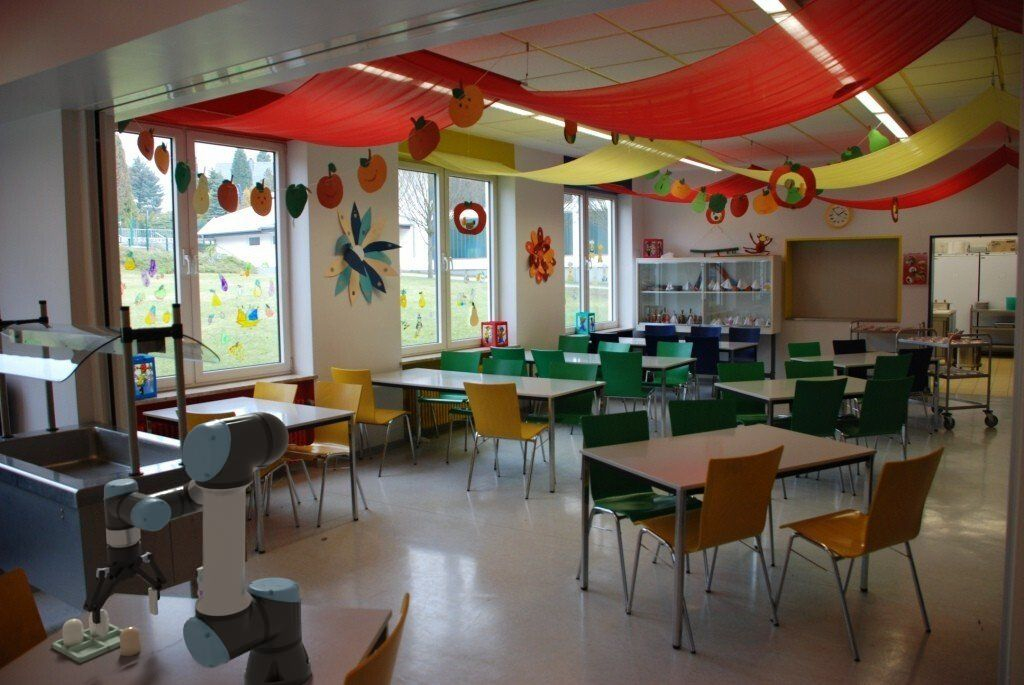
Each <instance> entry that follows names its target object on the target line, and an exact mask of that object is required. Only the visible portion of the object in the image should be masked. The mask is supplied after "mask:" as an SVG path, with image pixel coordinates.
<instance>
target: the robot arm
mask: <svg viewBox="0 0 1024 685" xmlns="http://www.w3.org/2000/svg"><path fill="white" fill-rule="evenodd" d="M289 439H290V434H289V431H288V428H287V426H286V424H285V423H284V422H283V421H282V420H281V419H280V418H279V417H278V416H276V415H274V414H272V413H269V412H265V411H264V412H262V411H257V412H250V413H247V414H242V415H236V416H231V417H225V418H220V419H216V418H215V419H211V420H209V421H207V422H203V423H200V424H197V425H196V426H195V425H194V427H192V429H191V430H190V431H189V432H188V433H187V435H186V436H185V439H184V441H183V446H182V453H181V454H182V463H183V464H182V465H183V466H185V472H186V473H187V475H188V476H189V478H190V479H191V480H190V481H189V482H187V483H185V484H182V485H180V486H179V485H178V486H175V487H172V488H168V489H165V490H161V491H157V492H154V493H149V494H144V493H141V492H140V491H139V490H140V489H139V484H138V482H137V480H135V479H133V478H119V479H115V480H110V481H109V482H107V483H106V484H105V485H104V487H103V499H102V500H103V504H104V505H103V506H104V518H105V533H106V534H105V535H106V538H105V539H106V544H107V546H106V554H107V555H106V556H107V567H103V568H99V567H97V568H95V569H94V578H93V581H92V584H90V585H91V586H90V588H89V591H88V593H87V596H86V599H85V601H84V603H83V605H82V609H83V610H84V611H86V612H89V613H92V621H93V623H95V624H96V630H97V634H98V635H100V636H102V637H104V636H106V631H105V614H104V610H105V609H104V610H103V609H102V608H103V606H104V605H105V603H106V601H107V600H108V599H109V597H110V595H111V594H112V592H113V591H114V590H115V587H116V586H118V585H119V583H120V581H121V582H123V581H126V580H127V579H133V578H134V577H135V576H138V577H139V578H140V579H141V580H142V581H144V582H145V583H147V584H148V585H149V586H150V587H149V588H148V593H147V594H148V606H149V608H148V609H149V610H148V611H149V613H150V614H152V615H154V616H158V615H159V605H158V604H159V603H158V601H160V600H161V590H162V589H163V585H166V584H167V583H168V580H167V578H166V577H165V575H164V574H163V572H162V571H161V569H160V568H159V566H158V564H157V563H156V561H155V556H154V553H152V552H149V551H145V552H144V553H143V555H142V541H141V540H140V539H141V538H142V537H141V536H142V535H141V531H142V530H143V531H149V532H157V531H160V530H162V529H163V528H164V527H165V526H166V525H168V524H169V522H171V521H173V520H177V519H180V518H184V517H187V516H189V515H190V516H191V515H193V514H196V513H200V512H201V513H202V566H203V595H201V596H200V597H199V598H198V597H197V599H196V601H195V605H194V616H191V617H189V618H188V619H187V620H186V621H185V622H184V624H183V628H182V636H183V640H184V643H185V646H186V648H187V650H188V652H189V654H190V656H191V657H192V658H193V660H194V661H195V662H196V663H197V664H199V665H200V666H201V667H204V669H205V668H206V669H214V668H217V667H219V666H221V665H225V664H229V662H230V661H232V660H234V659H236V658H238V657H240V656H242V655H244V654H247V653H248V652H249V654H248V657H247V662H246V666H245V668H244V671H243V681H244V682H243V683H244V685H302V683H303V682H304V683H305V682H306V681H307V680H308V679H309V678H310V676H311V674H312V666H311V665H312V664H311V659H310V657H309V654H308V653H307V650H306V647H305V645H304V643H303V631H302V628H303V626H302V605H301V604H302V597H301V591H300V586H299V584H298V583H297V582H296V581H294V580H292V579H289V578H285V577H265V578H259V579H256V580H255V579H254V580H253V581H251V582H250V583H249V584H248V586H247V589H246V588H245V587H246V586H245V584H246V576H245V575H246V498H247V496H246V494H247V493H246V492H247V491H246V489H247V488H248V487H249V486H250V485H251V484H253V482H254V472H255V471H256V470H258V469H264V468H265V469H266V468H268V467H269V466H271V465H272V464H273V463H275V462H276V461H278V460H279V459H280V458H281V457H283V455H284V454H285V453H286V452H287V449H288V447H289V441H290V440H289ZM143 562H144V563H145V564H146V566H147V568H148V569H149V571H150V572H151V574H152V575H153V576H154V578H155V579H154V578H153V577H151V576H150V575H149V574H148V573H147V572H145V571H144V570H143V569H142V568H140V567H141V565H142V564H143ZM107 574H109V575H108V576H107ZM245 589H246V590H245ZM308 677H309V678H308ZM304 683H303V684H304Z"/></svg>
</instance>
